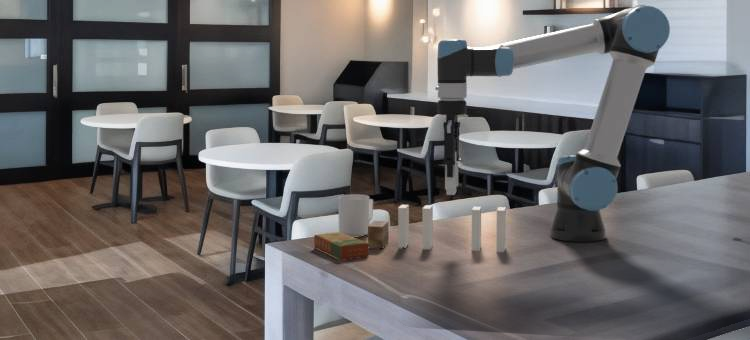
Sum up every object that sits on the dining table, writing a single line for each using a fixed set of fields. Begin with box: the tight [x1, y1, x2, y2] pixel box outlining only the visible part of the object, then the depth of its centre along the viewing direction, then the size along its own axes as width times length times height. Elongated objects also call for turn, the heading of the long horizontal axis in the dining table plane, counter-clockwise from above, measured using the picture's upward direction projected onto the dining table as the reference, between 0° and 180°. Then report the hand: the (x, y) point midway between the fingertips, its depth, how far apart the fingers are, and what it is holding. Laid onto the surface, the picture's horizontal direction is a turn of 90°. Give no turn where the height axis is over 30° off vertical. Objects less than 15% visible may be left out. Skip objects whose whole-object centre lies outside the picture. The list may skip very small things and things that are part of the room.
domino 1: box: [397, 204, 410, 249], centre depth 233 cm, size 2×5×11 cm, turn 168°
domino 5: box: [496, 206, 507, 253], centre depth 227 cm, size 2×5×11 cm, turn 168°
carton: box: [313, 231, 369, 261], centre depth 227 cm, size 8×16×4 cm, turn 29°
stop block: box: [367, 220, 390, 249], centre depth 234 cm, size 4×8×6 cm, turn 168°
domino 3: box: [445, 151, 457, 196], centre depth 228 cm, size 2×5×11 cm, turn 168°
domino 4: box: [471, 206, 482, 252], centre depth 229 cm, size 2×5×11 cm, turn 168°
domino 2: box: [421, 204, 434, 250], centre depth 231 cm, size 2×5×11 cm, turn 168°
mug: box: [337, 193, 374, 236], centre depth 250 cm, size 12×9×11 cm
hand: (451, 187), depth 229 cm, fingers closed on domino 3, 5 cm apart
